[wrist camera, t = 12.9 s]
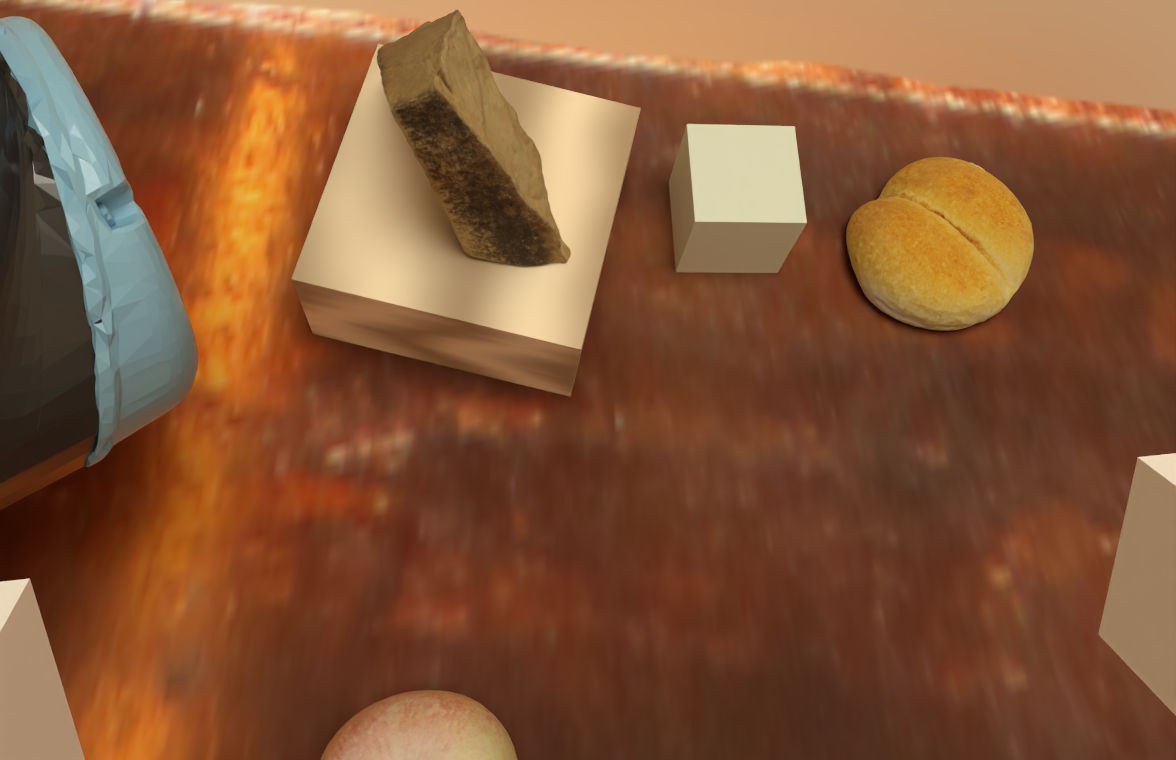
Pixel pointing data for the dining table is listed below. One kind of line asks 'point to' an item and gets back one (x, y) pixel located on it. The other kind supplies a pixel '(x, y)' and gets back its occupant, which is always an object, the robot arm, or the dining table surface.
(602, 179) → the beech block
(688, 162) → the pale cream cube
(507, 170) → the rock
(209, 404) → the dining table surface
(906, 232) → the bread roll
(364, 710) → the fruit
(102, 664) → the dining table surface
